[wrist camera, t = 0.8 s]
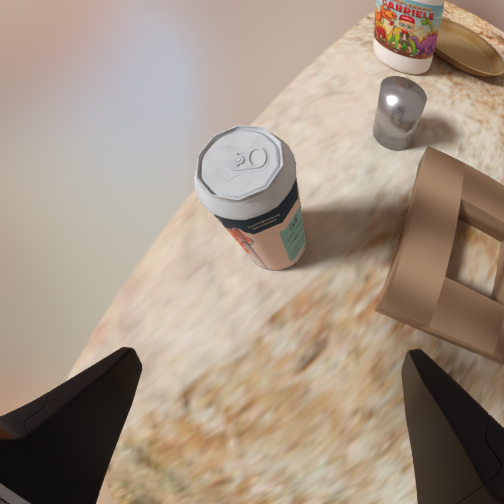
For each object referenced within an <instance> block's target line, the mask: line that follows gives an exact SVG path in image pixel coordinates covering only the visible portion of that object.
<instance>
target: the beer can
mask: <svg viewBox="0 0 504 504" xmlns="http://www.w3.org/2000/svg"><path fill="white" fill-rule="evenodd" d="M194 179H195V190H196V193H197V196H198V198H199V200H200V202H201V203H202V204H203V205H204V206H205V207H206V208H207V209H208V210H209V211H210V212H211V213H213V214H214V215H215V216H216V218H217V219H218V220H219V221H220V222H221V223H222V224H223V226H224V227H225V228H226V229H227V230H228V231H229V232H230V234H231V235H232V236H233V237H234V238H235V239H236V240H237V242H238V243H239V244H240V245H241V246H242V247H243V249H244V250H245V251H246V252H247V253H248V254H249V256H250V258H251V259H252V260H253V261H254V262H255V263H256V264H257V265H258V266H260V267H262V268H264V269H267V270H272V271H274V270H283V269H286V268H289V267H290V266H292V265H294V264H295V263H296V262H297V261H298V260H299V259H300V257H301V256H302V255H303V253H304V250H305V247H306V235H305V230H304V225H303V218H302V211H301V204H300V197H299V191H298V184H297V178H296V162H295V158H294V155H293V153H292V151H291V150H290V148H289V146H288V145H287V144H286V143H285V142H283V141H282V140H281V139H280V138H279V137H277V136H275V135H273V134H272V133H270V132H268V131H267V130H266V129H265V128H264V127H256V126H243V125H237V126H235V127H232V128H230V129H228V130H225V131H223V132H221V133H219V134H216V135H214V136H213V137H212V138H211V139H210V140H209V142H208V143H207V144H206V145H205V147H204V148H203V149H202V150H201V152H200V153H199V154H198V156H197V166H196V172H195V178H194Z"/></svg>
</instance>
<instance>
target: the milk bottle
mask: <svg viewBox="0 0 504 504" xmlns="http://www.w3.org/2000/svg"><path fill="white" fill-rule="evenodd" d="M443 6H444V0H376V10H375V30H374V52H375V55H376V56H377V58H378V59H379V60H380V61H381V62H382V63H384V64H385V65H386V66H388V67H390V68H392V69H394V70H397V71H399V72H403V73H407V74H422V73H425V72H426V71H427V70H428V69H429V68H430V65H431V62H432V58H433V55H434V51H435V47H436V42H437V38H438V34H439V29H440V24H441V19H442V13H443Z"/></svg>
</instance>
